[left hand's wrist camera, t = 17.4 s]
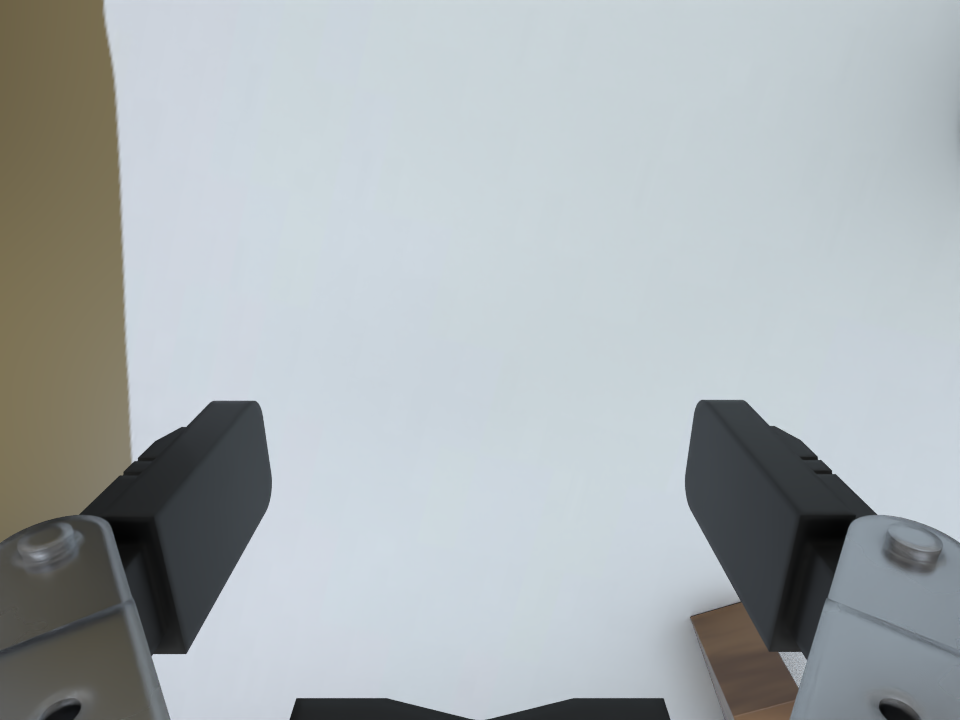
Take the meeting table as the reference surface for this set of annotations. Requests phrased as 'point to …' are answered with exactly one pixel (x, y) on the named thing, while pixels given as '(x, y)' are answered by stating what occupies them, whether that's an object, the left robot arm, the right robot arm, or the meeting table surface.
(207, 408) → the left robot arm
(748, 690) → the bar
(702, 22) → the meeting table surface
